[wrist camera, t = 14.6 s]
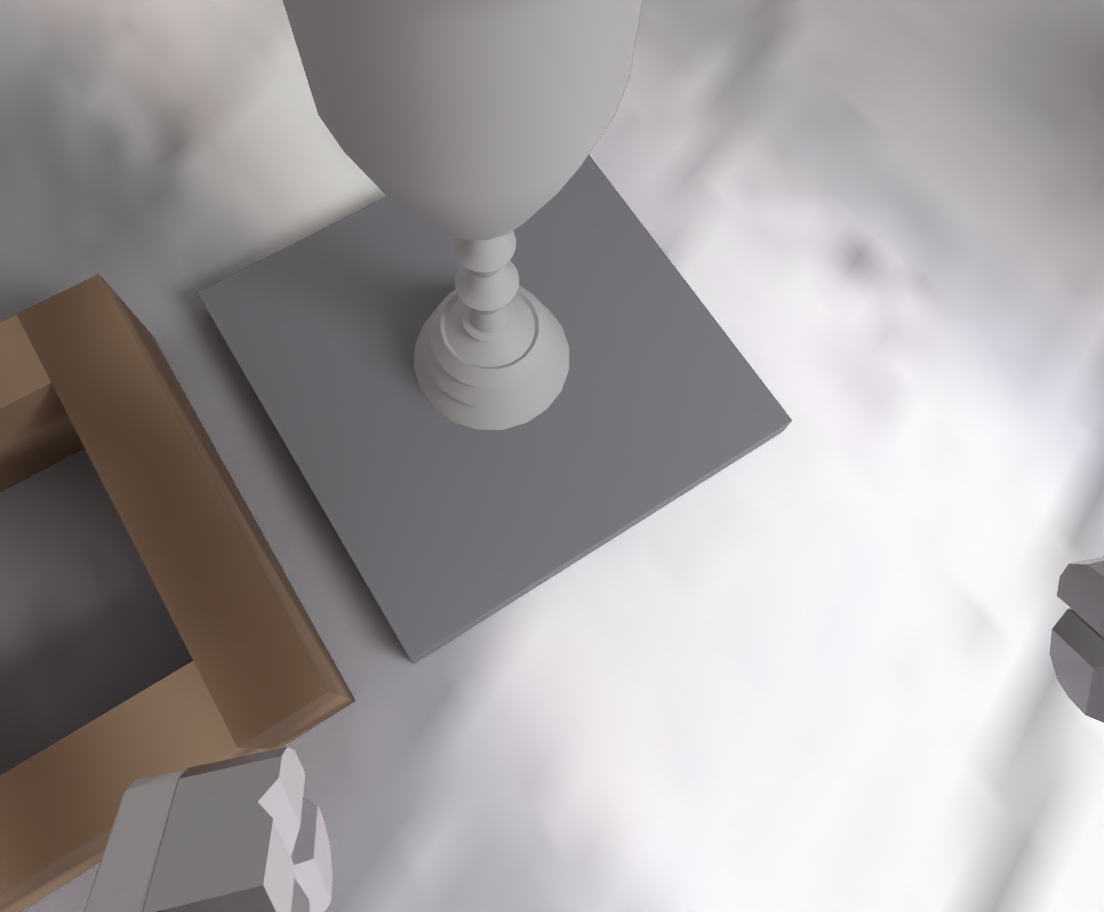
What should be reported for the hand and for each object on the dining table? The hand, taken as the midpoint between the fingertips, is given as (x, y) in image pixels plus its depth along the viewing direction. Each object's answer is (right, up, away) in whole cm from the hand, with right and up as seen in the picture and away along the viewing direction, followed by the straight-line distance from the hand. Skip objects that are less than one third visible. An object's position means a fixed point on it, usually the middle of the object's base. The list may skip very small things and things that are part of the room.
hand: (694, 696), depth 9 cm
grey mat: (-3, +5, +21) cm, 22 cm away
